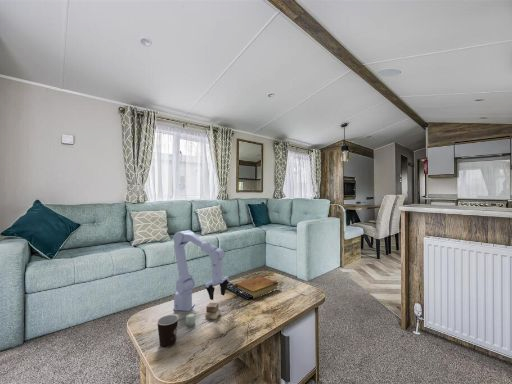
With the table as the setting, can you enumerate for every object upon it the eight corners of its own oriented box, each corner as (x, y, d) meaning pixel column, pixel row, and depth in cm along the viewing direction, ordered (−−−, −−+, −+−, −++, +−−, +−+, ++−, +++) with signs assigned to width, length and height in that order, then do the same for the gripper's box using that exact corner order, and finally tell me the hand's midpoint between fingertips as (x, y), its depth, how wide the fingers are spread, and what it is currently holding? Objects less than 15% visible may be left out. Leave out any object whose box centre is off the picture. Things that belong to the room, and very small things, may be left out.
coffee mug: (165, 351, 97) (165, 327, 97) (152, 345, 102) (152, 321, 102) (187, 337, 107) (187, 315, 107) (174, 332, 112) (175, 310, 112)
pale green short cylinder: (184, 325, 117) (184, 317, 117) (188, 321, 121) (188, 313, 121) (192, 326, 116) (192, 318, 116) (196, 322, 121) (196, 314, 121)
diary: (259, 283, 176) (259, 275, 176) (278, 290, 162) (278, 282, 162) (235, 291, 160) (235, 283, 161) (253, 300, 147) (253, 290, 147)
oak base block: (205, 318, 125) (205, 312, 125) (209, 313, 131) (209, 307, 131) (216, 319, 124) (216, 313, 124) (219, 314, 129) (219, 308, 129)
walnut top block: (206, 312, 125) (206, 306, 125) (209, 307, 130) (209, 302, 130) (215, 312, 124) (215, 307, 124) (218, 308, 129) (218, 303, 129)
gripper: (210, 276, 119) (210, 303, 119) (232, 270, 130) (232, 295, 130) (202, 273, 124) (202, 299, 124) (224, 267, 135) (224, 291, 134)
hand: (217, 297), depth 127 cm, fingers open, 7 cm apart
